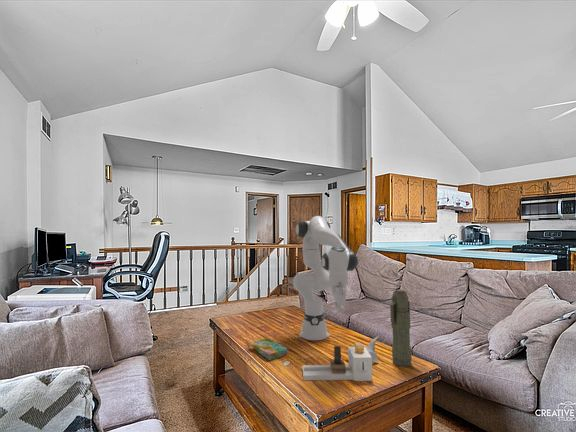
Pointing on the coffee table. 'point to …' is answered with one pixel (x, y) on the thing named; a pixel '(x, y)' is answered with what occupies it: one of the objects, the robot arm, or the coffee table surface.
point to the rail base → (354, 371)
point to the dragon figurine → (370, 349)
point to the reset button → (359, 349)
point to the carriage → (337, 361)
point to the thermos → (401, 328)
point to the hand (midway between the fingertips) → (338, 309)
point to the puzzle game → (269, 348)
